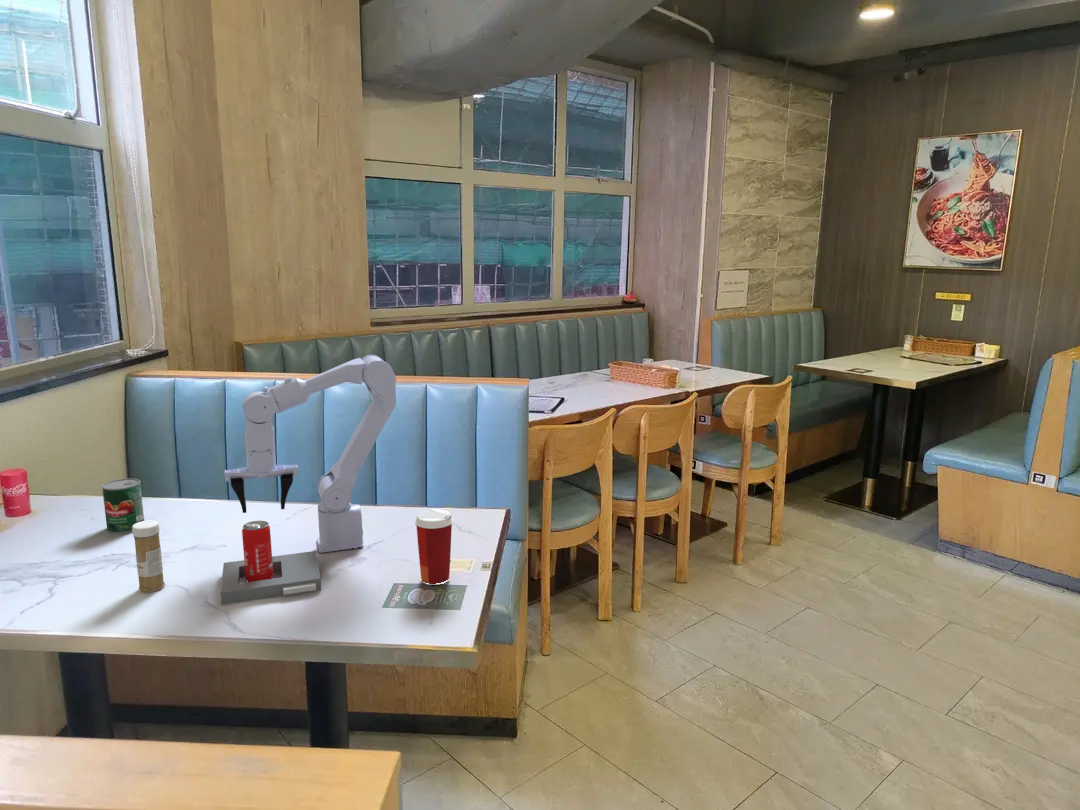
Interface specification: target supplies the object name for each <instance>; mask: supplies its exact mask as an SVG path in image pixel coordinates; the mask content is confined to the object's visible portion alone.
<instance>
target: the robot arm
mask: <svg viewBox="0 0 1080 810" xmlns="http://www.w3.org/2000/svg"><path fill="white" fill-rule="evenodd" d="M283 380H284V381H283V382H281V383H278V384H275V385H273V386H270V387H267V386H264V387H262V388H261V390H262V391H252V392H251V393H249V394H247V396H245V398H244V400H243V404H242V408H243V412H244V415H245V421H244V422H245V423H244V424H245V428H244V434H245V436H244V437H245V453H246V467H238V468H233V469H225V470H224V482H230V486H231V488H232V490H233V491H234V493H235V495H236V497H237V498H238V501H239V503H240V507H241V509H242V514H247V503H246V496H245V495H246V494H245V480H249V479H251V480H252V479H261V478H271V477H272V478H274V477H280V479H279V480H280V509H281V510H285V506H286V501H287V497H288V495H289V491H290V489H291V486H292V484H293V482H294V477H298V476H299V468H298V464H277V461H276V444H275V442H276V441H275V440H276V439H275V427H274V424H273V417H274V415H275V414H281V413H283V412H286V411H288V410H291V409H293V408H296V407H298V406H301V405H304V404H306V403H308V401H309V399H310V397H311V395H313V394H315V393H319V392H322V391H324V390H327V389H330V388H332V387H333V388H334V387H336V386H338V385H341V384H344V383H351V384H356V385H360V386H361V385H363V383H364V384H365V386H366V387H367V391H368V394H369V396H370V399H371V402H370V404H369V406H368V407H367V409H366V411H365V413H364V415H362V417H361V420H360V422H359V423H358V425H357V427H356V428H355V430H354V432H353V434H352V436H351V437H350V439H349V441H348V443H347V444H346V446H345V448H344V449H343V451H342V453H341V455H340V456H339V458H338V459H337V462H336V463H334V464H333V465H331V467H330V469H329V470H328V471H327V472H326V473H325V474H324V475H322V476H321V477H320V478H319V480H318V482H317V484H316V491H317V493H318V495H319V497H320V499H321V500H320V502H319V503H318V505H317V515H318V519H317V520H318V533H319V534H318V535H319V536H318V537H317V538H316V541H317V546H318V553H328V552H329V553H330V552H337V551H344V550H352V548H353V549H359V548H358V547H361V548H364V540H363V539H364V538H363V537H364V531H363V517H362V516H363V515H362V510H361V509H362V508H361V505H360V504H352V503H351V501H352V493H353V492H352V491H353V489H354V488H355V486H356V482H357V475H358V473H359V471H360V470H361V468H362V466H363V465H364V463H365V461H366V459H367V457H368V455H369V453H370V452H371V450H372V448H373V447H374V445H375V443H376V441H377V439H378V438H379V436H380V434H381V433H382V431H383V429H384V427H385V425H386V424H387V423H388V421H389V418H390V417H391V414H393V412H394V409H395V407H396V405H397V389H396V386H397V385H396V382H397V377H396V374H395V373H394V369H393V368H392V366H391V365H390V364H389V363H388V362H387V361H384V360H383V359H382V358H381V357H380V356H378V355H376V354H367V355H365V356H363V357H362V358H361V357H357V358H353V359H351V360H349V361H346V362H344V363H342V364H339V365H337V366H335V367H333V368H331V369H329V370H325V371H324V372H321V373H318V374H317V375H314V376H312V377H309V378H307V379H305V380H304V379H301V378H299V377H294V378H291V377H290V376H288V377H285V378H284V379H283Z"/></svg>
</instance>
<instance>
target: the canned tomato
mask: <svg viewBox="0 0 1080 810" xmlns="http://www.w3.org/2000/svg"><path fill="white" fill-rule="evenodd" d="M101 489H102V496H103V505H104V514H105V523H106V531H107V532H108V533H109V534H113V535H121V534H122V535H123V534H129V533H133V532H132V526H133V525H134V524H136V523H138V522H141V521H145V515H144V506H143V505H144V504H143V496H142V494H143V493H142V487H141V480H140V479H137V478H119V479H115V480H110V481H107V482H105V483H103V484H102V485H101Z"/></svg>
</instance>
